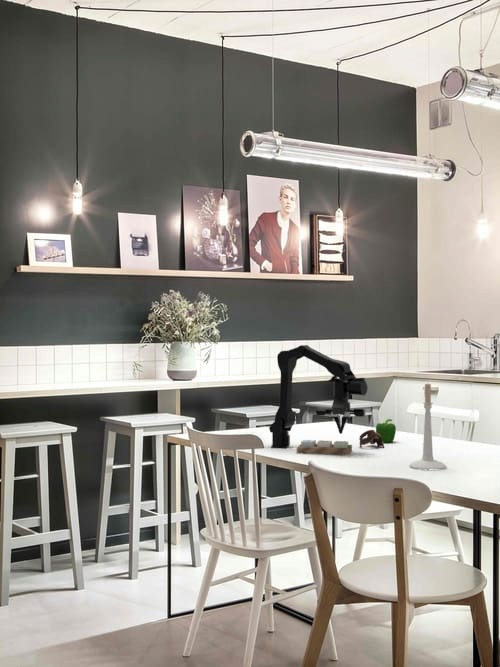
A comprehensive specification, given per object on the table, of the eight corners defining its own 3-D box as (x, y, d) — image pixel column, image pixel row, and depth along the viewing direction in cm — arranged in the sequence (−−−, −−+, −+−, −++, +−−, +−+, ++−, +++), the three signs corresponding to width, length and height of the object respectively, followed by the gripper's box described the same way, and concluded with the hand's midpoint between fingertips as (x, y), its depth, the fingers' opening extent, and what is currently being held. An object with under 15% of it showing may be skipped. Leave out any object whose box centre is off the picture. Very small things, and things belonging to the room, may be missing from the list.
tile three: (333, 448, 337) (333, 442, 337) (335, 447, 341) (335, 440, 341) (346, 449, 335) (346, 442, 335) (348, 447, 340) (348, 441, 340)
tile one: (301, 447, 340) (301, 441, 340) (303, 445, 345) (303, 439, 345) (313, 448, 338) (313, 441, 338) (315, 446, 343) (315, 440, 343)
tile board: (296, 453, 337) (296, 447, 337) (302, 449, 348) (302, 443, 348) (347, 455, 332) (347, 449, 332) (351, 450, 343) (351, 444, 343)
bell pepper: (373, 443, 365) (373, 419, 364) (378, 440, 372) (378, 417, 372) (393, 444, 362) (393, 420, 361) (397, 441, 369) (397, 418, 369)
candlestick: (428, 463, 314) (428, 380, 313) (454, 468, 303) (454, 383, 302) (401, 466, 307) (401, 382, 306) (427, 471, 296) (427, 384, 296)
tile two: (317, 448, 338) (317, 441, 338) (319, 446, 343) (319, 440, 343) (330, 448, 337) (330, 442, 337) (331, 446, 342) (331, 440, 342)
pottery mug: (387, 450, 348) (378, 433, 346) (365, 460, 349) (356, 443, 348) (384, 438, 359) (375, 422, 358) (363, 448, 361) (355, 432, 359)
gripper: (314, 395, 333) (313, 435, 333) (362, 396, 328) (362, 437, 328) (318, 392, 343) (318, 431, 344) (365, 393, 339) (365, 433, 339)
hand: (340, 433), depth 338 cm, fingers closed
